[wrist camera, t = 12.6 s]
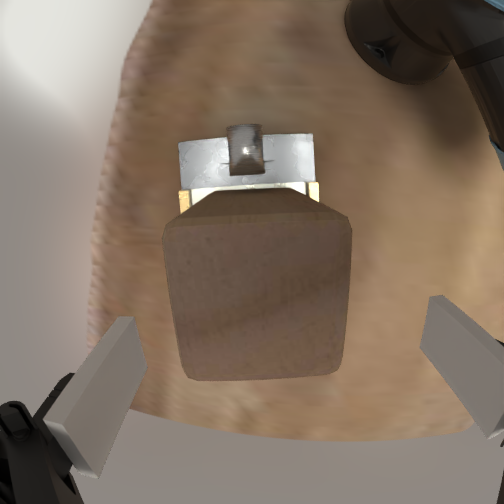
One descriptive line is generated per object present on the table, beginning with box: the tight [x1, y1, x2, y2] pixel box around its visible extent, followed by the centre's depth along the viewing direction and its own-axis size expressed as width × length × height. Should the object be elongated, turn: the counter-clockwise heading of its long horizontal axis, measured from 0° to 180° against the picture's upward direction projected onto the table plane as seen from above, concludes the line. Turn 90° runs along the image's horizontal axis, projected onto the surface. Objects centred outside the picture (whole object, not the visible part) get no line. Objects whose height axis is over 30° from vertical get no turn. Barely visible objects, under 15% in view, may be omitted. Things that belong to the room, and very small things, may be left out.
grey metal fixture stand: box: [178, 124, 319, 214], centre depth 32 cm, size 22×15×10 cm
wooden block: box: [162, 188, 352, 381], centre depth 26 cm, size 10×10×20 cm
